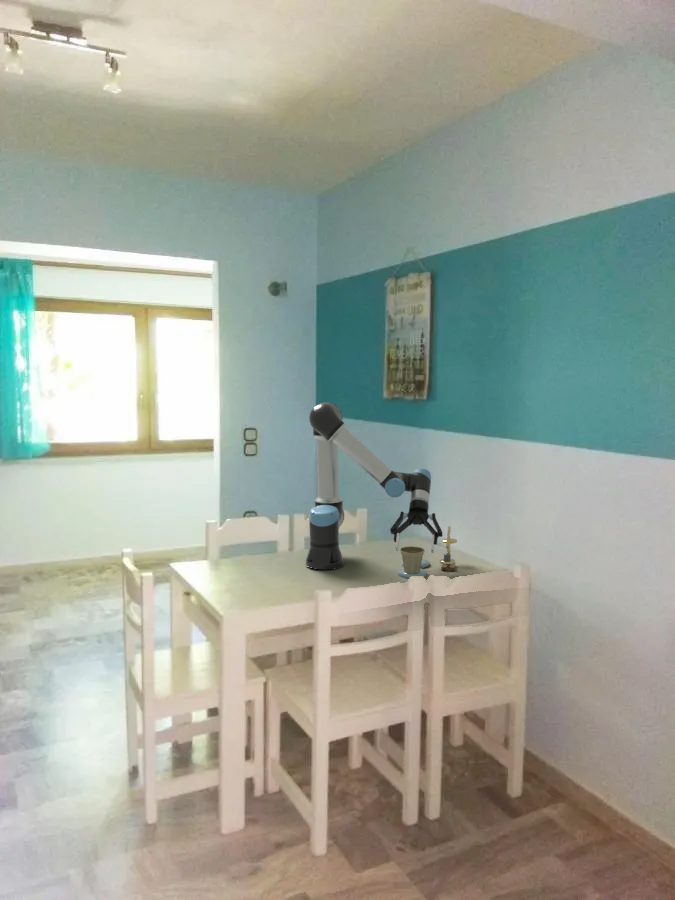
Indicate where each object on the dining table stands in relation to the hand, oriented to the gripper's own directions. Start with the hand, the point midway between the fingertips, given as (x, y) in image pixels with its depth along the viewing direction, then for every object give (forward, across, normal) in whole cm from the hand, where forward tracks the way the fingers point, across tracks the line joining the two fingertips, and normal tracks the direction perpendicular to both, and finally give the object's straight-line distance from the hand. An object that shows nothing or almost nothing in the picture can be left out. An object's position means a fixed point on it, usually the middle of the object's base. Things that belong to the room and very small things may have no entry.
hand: (414, 550), depth 266 cm
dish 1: (+7, 0, -6) cm, 9 cm away
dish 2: (-2, +1, -15) cm, 15 cm away
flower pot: (+7, +1, -5) cm, 8 cm away
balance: (0, -12, -13) cm, 18 cm away
